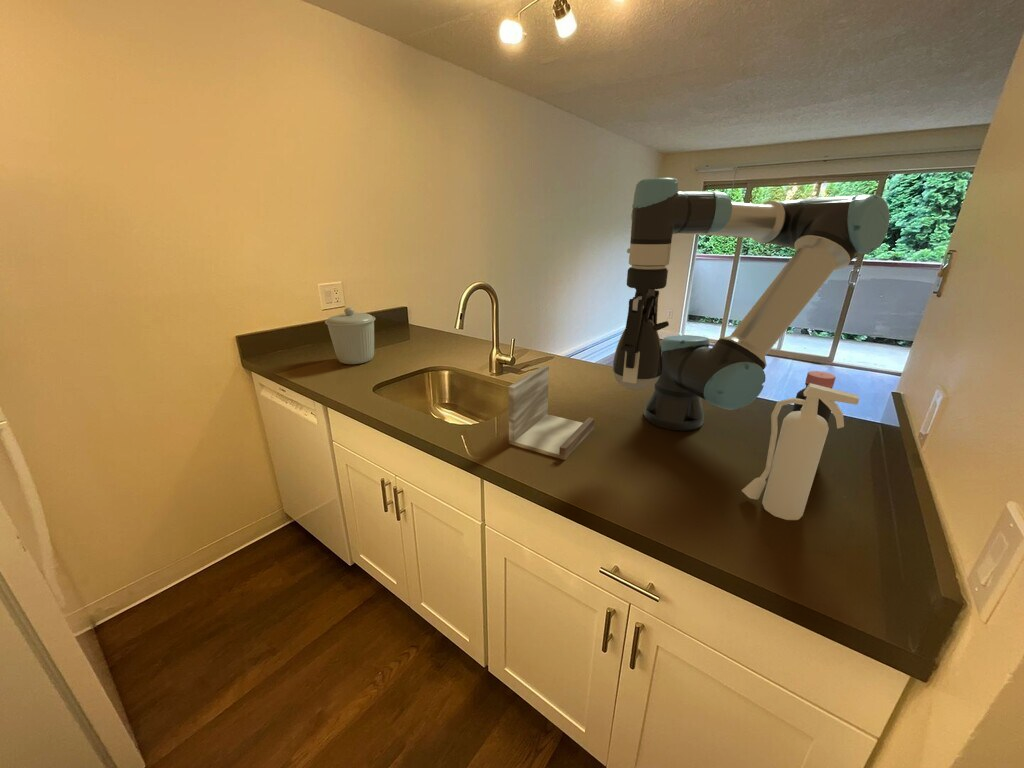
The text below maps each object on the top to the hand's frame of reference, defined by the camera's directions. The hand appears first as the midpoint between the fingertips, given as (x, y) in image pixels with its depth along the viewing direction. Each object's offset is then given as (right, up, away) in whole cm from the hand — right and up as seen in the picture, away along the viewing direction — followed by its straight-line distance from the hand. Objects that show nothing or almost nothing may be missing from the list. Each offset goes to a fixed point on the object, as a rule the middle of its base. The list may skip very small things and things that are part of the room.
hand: (637, 374), depth 89 cm
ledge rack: (-16, -15, +16) cm, 28 cm away
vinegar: (+39, -19, +7) cm, 44 cm away
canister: (-88, +7, +75) cm, 116 cm away
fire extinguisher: (+23, -26, -10) cm, 36 cm away
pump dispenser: (0, -3, +1) cm, 3 cm away
